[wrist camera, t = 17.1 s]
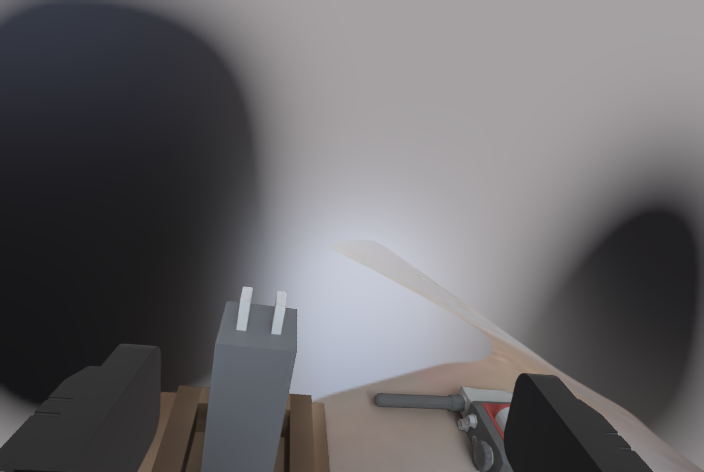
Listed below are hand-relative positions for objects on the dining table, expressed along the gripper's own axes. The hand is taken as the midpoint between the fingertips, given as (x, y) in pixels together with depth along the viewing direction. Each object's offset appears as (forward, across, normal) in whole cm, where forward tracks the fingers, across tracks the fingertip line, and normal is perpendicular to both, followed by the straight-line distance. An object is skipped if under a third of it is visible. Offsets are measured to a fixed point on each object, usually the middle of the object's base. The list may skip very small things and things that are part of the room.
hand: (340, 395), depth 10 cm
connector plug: (+15, +4, +16) cm, 23 cm away
